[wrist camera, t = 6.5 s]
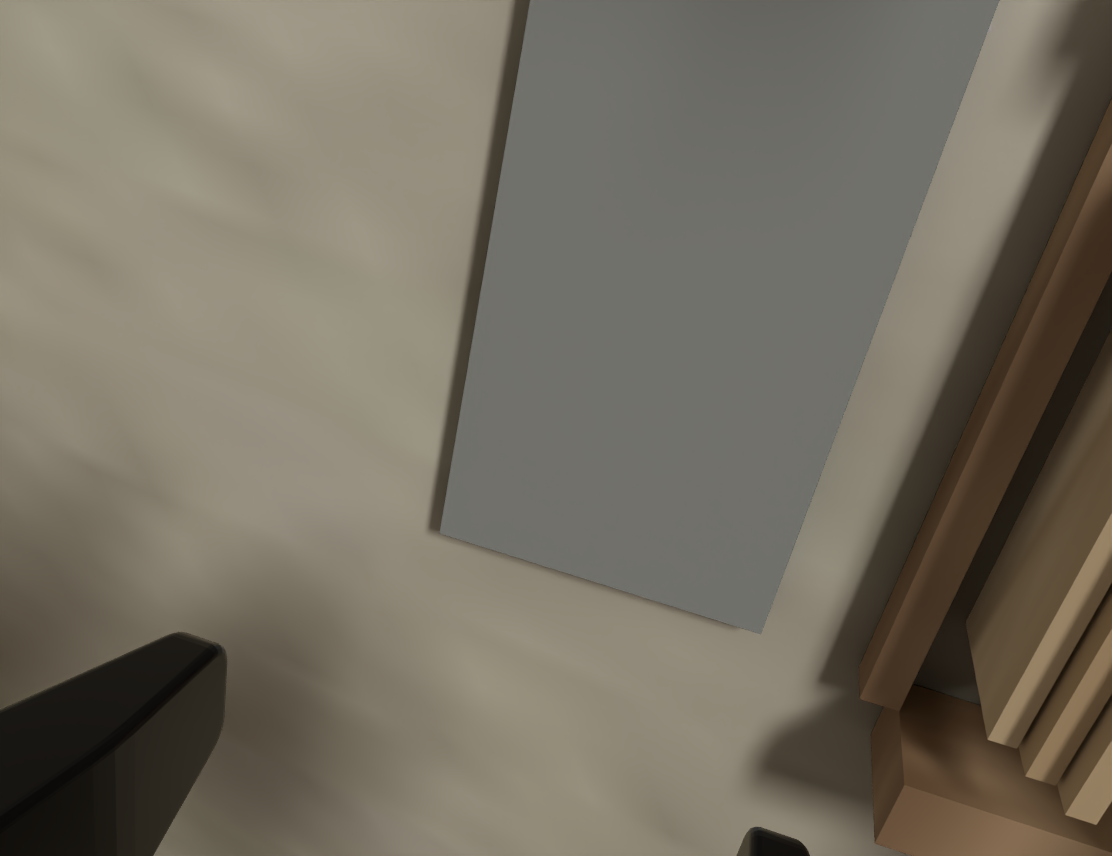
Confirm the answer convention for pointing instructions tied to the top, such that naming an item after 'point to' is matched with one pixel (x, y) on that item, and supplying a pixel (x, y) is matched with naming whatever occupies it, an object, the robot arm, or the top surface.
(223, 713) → the robot arm
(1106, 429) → the offcut bundle
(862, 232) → the grey mat
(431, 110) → the top surface
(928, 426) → the top surface
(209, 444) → the top surface
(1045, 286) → the walnut rack
